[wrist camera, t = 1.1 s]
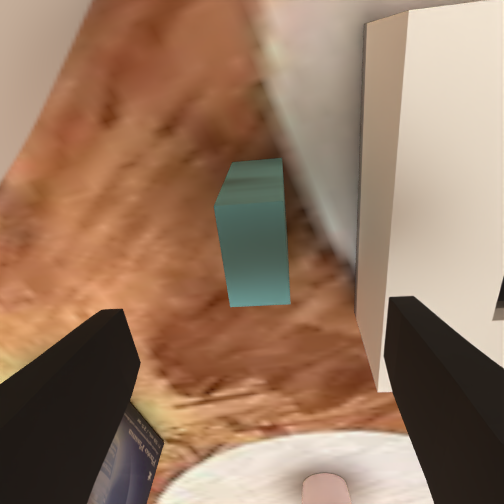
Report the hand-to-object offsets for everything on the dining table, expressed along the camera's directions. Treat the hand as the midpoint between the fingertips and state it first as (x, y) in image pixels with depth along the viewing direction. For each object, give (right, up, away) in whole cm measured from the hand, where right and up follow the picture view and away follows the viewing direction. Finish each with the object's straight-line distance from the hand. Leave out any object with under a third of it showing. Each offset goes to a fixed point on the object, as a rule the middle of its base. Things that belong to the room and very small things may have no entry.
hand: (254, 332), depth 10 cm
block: (0, +5, +9) cm, 11 cm away
